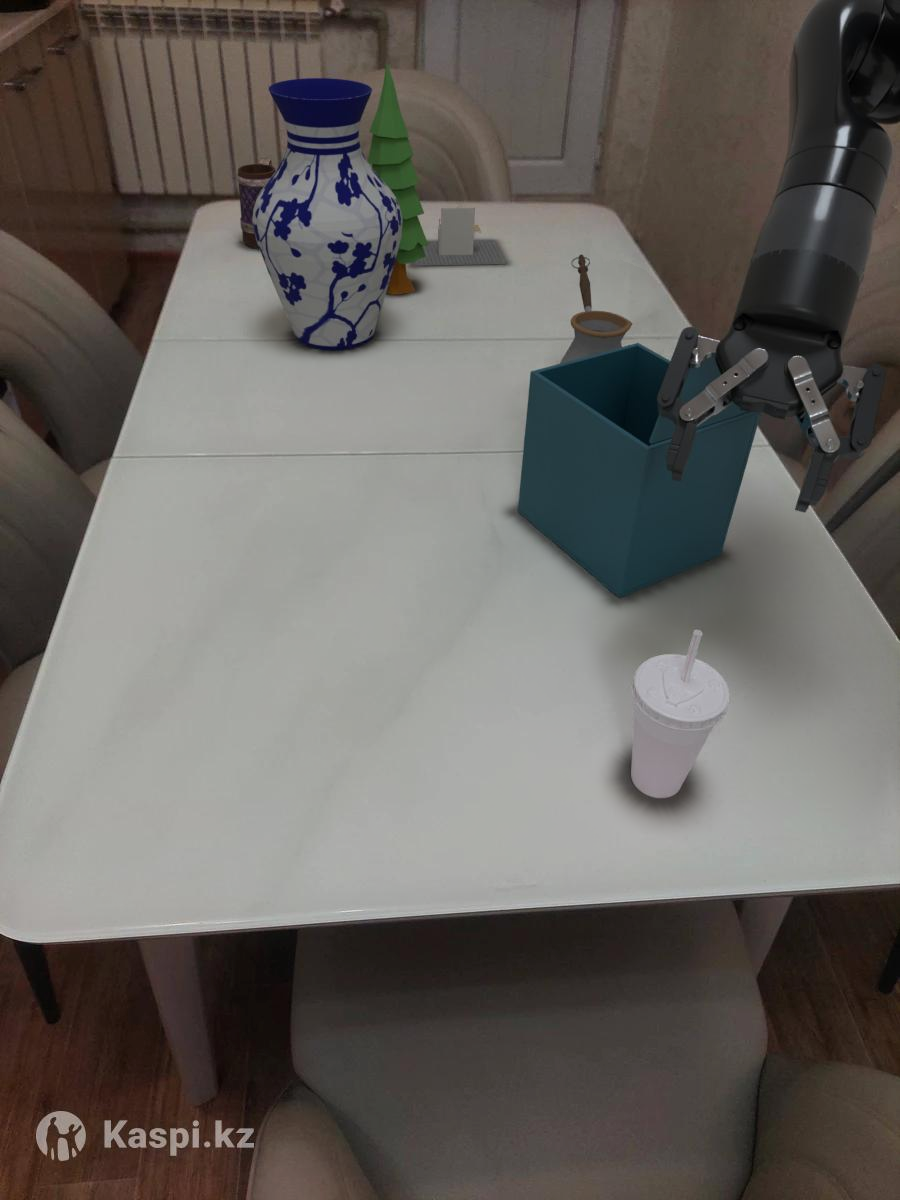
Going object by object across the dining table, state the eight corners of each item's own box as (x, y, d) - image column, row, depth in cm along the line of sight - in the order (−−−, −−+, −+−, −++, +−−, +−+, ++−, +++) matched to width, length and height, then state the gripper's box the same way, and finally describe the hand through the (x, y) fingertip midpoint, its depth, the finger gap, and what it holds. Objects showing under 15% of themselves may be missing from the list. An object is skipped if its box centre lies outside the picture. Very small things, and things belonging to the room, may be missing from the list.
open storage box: (721, 555, 86) (761, 411, 76) (618, 598, 81) (648, 450, 71) (614, 477, 97) (638, 342, 87) (517, 511, 91) (530, 371, 81)
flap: (761, 404, 76) (764, 406, 76) (648, 441, 71) (651, 444, 71) (800, 323, 70) (803, 325, 70) (680, 357, 65) (683, 360, 65)
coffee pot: (643, 452, 101) (667, 325, 91) (542, 451, 100) (556, 323, 91) (610, 368, 117) (628, 253, 108) (523, 367, 117) (533, 251, 107)
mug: (277, 251, 147) (270, 173, 140) (236, 247, 148) (227, 170, 140) (296, 231, 155) (290, 157, 147) (257, 228, 156) (249, 154, 148)
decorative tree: (380, 273, 141) (374, 54, 122) (436, 280, 139) (440, 59, 120) (359, 295, 134) (349, 66, 115) (418, 303, 132) (419, 72, 113)
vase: (268, 368, 115) (239, 107, 95) (262, 310, 129) (236, 72, 109) (413, 359, 118) (414, 105, 98) (392, 303, 132) (389, 71, 112)
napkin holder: (436, 248, 151) (437, 202, 146) (476, 247, 152) (479, 201, 147) (439, 255, 148) (440, 208, 143) (480, 254, 149) (482, 207, 144)
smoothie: (712, 766, 66) (759, 627, 57) (683, 828, 62) (729, 688, 53) (631, 732, 69) (664, 593, 60) (598, 789, 64) (628, 648, 55)
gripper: (703, 228, 60) (634, 454, 59) (928, 265, 56) (856, 507, 56) (701, 281, 67) (638, 482, 67) (899, 316, 64) (836, 531, 63)
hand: (738, 493), depth 61 cm, fingers open, 8 cm apart
